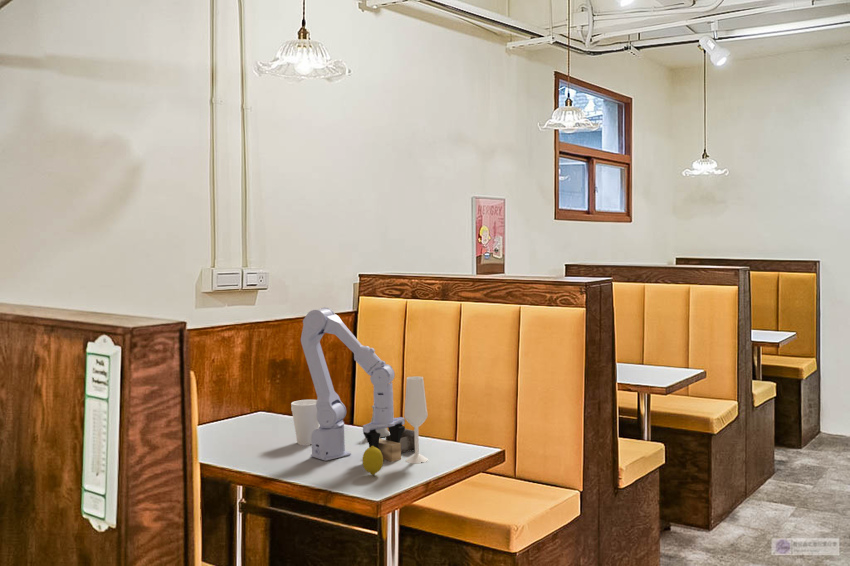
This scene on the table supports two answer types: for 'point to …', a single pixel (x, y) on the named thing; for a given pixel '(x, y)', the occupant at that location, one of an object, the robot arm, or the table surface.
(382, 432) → the flask
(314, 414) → the foam cup
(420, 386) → the champagne flute
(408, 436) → the bracket
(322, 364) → the robot arm
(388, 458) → the wooden block
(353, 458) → the table surface
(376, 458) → the lemon
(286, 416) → the table surface
